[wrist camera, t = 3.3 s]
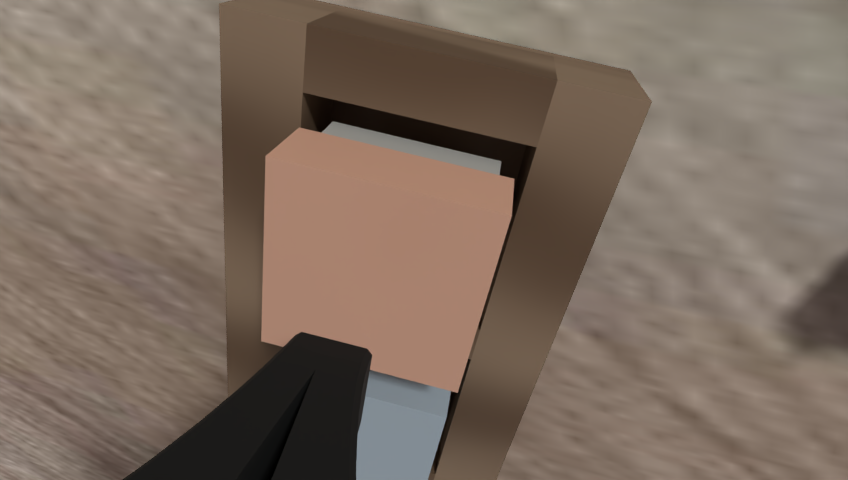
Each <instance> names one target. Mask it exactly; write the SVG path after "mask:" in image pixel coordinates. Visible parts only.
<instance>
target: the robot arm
mask: <svg viewBox="0 0 848 480" xmlns="http://www.w3.org/2000/svg"><path fill="white" fill-rule="evenodd" d="M371 360H372V354H371V353H370V352H369V350H368V349H367V348H363V347H359V346H355V345H351V344H347V343H343V342H340V341H336V340H332V339H328V338H324V337H320V336H316V335H312V334H308V333H305V332H300V333H298V334H296V335H295V336H294V337H293V338H292V339H291V340H290V341H289V342H288V343H287V344H286V345H285V346H284V347H283V348H282V349H281V350H280V351H279V352H278V353H277V354H276V355H275V356H274V357H273V358H272V359H271V360H269V361H268V362H267V363H266V364H265V365H264V366H263V367H262V368H261V369H260V370H259V371H258V372H257V373H255V374H254V375H253V376H252V377H251V378H250V379H249V380H248V381H247V382H246V383H244V384H243V385H242V386H241V387H240V388H239V389H238V390H236V391H235V392H234V393H233V394H232V395H231V396H229V397H228V398H227V399H226V400H225V401H224V402H222V403H221V404H220V405H219V406H218V407H217V408H215V409H214V410H213V411H212V412H211V413H210V414H208V415H207V416H206V417H205V418H203V419H202V420H201V421H200V422H199V423H197V424H196V425H195V426H193V427H192V428H191V429H190V430H188V431H187V432H186V433H184V434H183V435H182V436H181V437H179V438H178V439H177V440H175V441H174V442H173V443H172V444H170V445H169V446H168V447H166V448H165V449H164V450H163V451H161V452H160V453H159V454H157V455H156V456H155V457H153V458H152V459H151V460H149V461H148V462H147V463H145V464H144V465H142V466H141V467H140V468H138V469H137V470H136V471H134V472H133V473H131V474H130V475H129V476H127V477H126V478H124V479H123V480H356V460H357V435H358V431H359V427H360V424H361V419H362V413H363V407H364V401H365V395H366V389H367V383H368V378H369V372H370V366H371Z"/></svg>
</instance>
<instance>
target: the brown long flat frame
mask: <svg viewBox="0 0 848 480" xmlns="http://www.w3.org/2000/svg"><path fill="white" fill-rule="evenodd" d="M219 17H220V61H221V106H222V150H223V195H224V239H225V284H226V328H227V373H228V397H229V396H231V395H232V394H233V393H234V392H235V391H236V390H238V389H239V388H240V387H241V386H242V385H243V384H244V383H246V382H247V381H248V380H249V379H250V378H251V377H252V376H253V375H254V374H255V373H257V372H258V371H259V370H260V369H261V368H262V367H263V366H264V365H265V364H266V363H267V362H268V361H269V360H271V359H272V358H273V357H274V356H275V355H276V354H277V353H278V352H279V351H280V350H281V349H282V348H283V347H281V346H278V345H274V344H270V343H266V342H262V341H261V329H262V286H263V243H264V200H265V157H266V155H267V154H269V153H270V152H271V151H272V150H273V149H274V148H276V147H277V146H278V145H279V144H280V143H281V142H283V141H284V140H285V139H286V138H287V137H288V136H290V135H291V134H292V133H293V132H294V131H296V130H297V129H298V128H299V127H300V128H304V129H308V130H312V131H316V132H323V131H324V130H325V129H326V128H327V127H328V126H329V125H330V124H331V123H332V122H333V121H334V122H338V123H342V124H346V125H351V126H355V127H359V128H363V129H367V130H372V131H376V132H380V133H384V134H389V135H393V136H397V137H401V138H405V139H410V140H414V141H418V142H422V143H426V144H431V145H435V146H439V147H443V148H448V149H452V150H456V151H460V152H464V153H469V154H473V155H477V156H481V157H485V158H490V159H494V160H498V161H501V168H500V175H501V176H505V177H509V178H513V179H514V192H513V206H512V217H511V220H510V223H509V227H508V230H507V233H506V236H505V240H504V243H503V246H502V250H501V253H500V256H499V259H498V263H497V266H496V269H495V272H494V276H493V279H492V282H491V286H490V289H489V292H488V295H487V299H486V302H485V305H484V308H483V312H482V315H481V318H480V322H479V325H478V328H477V331H476V335H475V338H474V341H473V344H472V348H471V351H470V354H469V357H468V361H467V364H466V367H465V371H464V374H463V377H462V380H461V384H460V387H459V390H458V393H456V392H452V391H451V395H450V400H449V406H448V412H447V418H446V421H445V424H444V428H443V431H442V434H441V438H440V441H439V444H438V448H437V451H436V454H435V458H434V461H433V464H432V468H431V471H430V474H429V478H428V480H496V479H497V477H498V474H499V472H500V469H501V467H502V464H503V462H504V460H505V457H506V455H507V452H508V450H509V447H510V445H511V443H512V440H513V438H514V435H515V433H516V430H517V428H518V426H519V423H520V421H521V418H522V416H523V413H524V411H525V409H526V406H527V404H528V401H529V399H530V396H531V394H532V392H533V389H534V387H535V384H536V382H537V379H538V377H539V375H540V372H541V370H542V367H543V365H544V362H545V360H546V358H547V355H548V353H549V350H550V348H551V345H552V343H553V341H554V338H555V336H556V333H557V331H558V329H559V326H560V324H561V321H562V319H563V316H564V314H565V312H566V309H567V307H568V304H569V302H570V299H571V297H572V295H573V292H574V290H575V287H576V285H577V282H578V280H579V278H580V275H581V273H582V270H583V268H584V265H585V263H586V261H587V258H588V256H589V253H590V251H591V248H592V246H593V244H594V241H595V239H596V236H597V234H598V231H599V229H600V227H601V224H602V222H603V219H604V217H605V214H606V212H607V210H608V207H609V205H610V202H611V200H612V197H613V195H614V193H615V190H616V188H617V185H618V183H619V180H620V178H621V176H622V173H623V171H624V168H625V166H626V163H627V161H628V159H629V156H630V154H631V151H632V149H633V146H634V144H635V142H636V139H637V137H638V134H639V132H640V130H641V127H642V125H643V122H644V120H645V117H646V115H647V113H648V110H649V108H650V105H651V103H652V101H651V100H650V99H649V97H648V96H647V94H646V93H645V91H644V90H643V88H642V87H641V86H640V84H639V83H638V81H637V80H636V78H635V77H634V75H633V74H632V73H631V71H628V70H624V69H620V68H615V67H611V66H606V65H602V64H597V63H593V62H588V61H584V60H579V59H575V58H570V57H566V56H562V55H557V54H553V53H548V52H544V51H539V50H535V49H530V48H526V47H521V46H517V45H513V44H508V43H504V42H499V41H495V40H490V39H486V38H481V37H477V36H472V35H468V34H464V33H459V32H455V31H450V30H446V29H441V28H437V27H432V26H428V25H423V24H419V23H415V22H410V21H406V20H401V19H397V18H392V17H388V16H383V15H379V14H374V13H370V12H365V11H361V10H357V9H352V8H348V7H343V6H339V5H334V4H330V3H325V2H321V1H316V0H232V1H228V2H224V3H220V4H219Z"/></svg>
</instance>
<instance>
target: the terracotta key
mask: <svg viewBox="0 0 848 480" xmlns="http://www.w3.org/2000/svg"><path fill="white" fill-rule="evenodd" d="M500 168H501V161H498V160H494V159H490V158H485V157H481V156H477V155H473V154H469V153H464V152H460V151H456V150H452V149H448V148H443V147H439V146H435V145H431V144H426V143H422V142H418V141H414V140H410V139H405V138H401V137H397V136H393V135H389V134H384V133H380V132H376V131H372V130H367V129H363V128H359V127H355V126H351V125H346V124H342V123H338V122H334V121H333V122H332V123H331V124H330V125H329V126H328V127H327V128H326V129H325V130H324V131H323V132H316V131H312V130H308V129H304V128H300V127H299V128H298V129H297V130H296V131H294V132H293V133H292V134H291V135H290V136H288V137H287V138H286V139H285V140H284V141H283V142H281V143H280V144H279V145H278V146H277V147H276V148H274V149H273V150H272V151H271V152H270V153H269V154H267V155H266V157H265V200H264V243H263V286H262V329H261V341H262V342H266V343H270V344H274V345H278V346H281V347H284V346H285V345H286V344H287V343H288V342H289V341H290V340H291V339H292V338H293V337H294V336H295V335H296V334H298V333H300V332H305V333H308V334H312V335H316V336H320V337H324V338H328V339H332V340H336V341H340V342H343V343H347V344H351V345H355V346H359V347H363V348H367V349H368V350H369V352H370V353H371V354H372V360H371V366H370V370H373V371H376V372H380V373H384V374H388V375H392V376H395V377H399V378H403V379H407V380H410V381H414V382H418V383H422V384H426V385H429V386H433V387H437V388H441V389H445V390H448V391H452V392H456V393H458V390H459V387H460V384H461V380H462V377H463V374H464V371H465V367H466V364H467V361H468V357H469V354H470V351H471V348H472V344H473V341H474V338H475V335H476V331H477V328H478V325H479V322H480V318H481V315H482V312H483V308H484V305H485V302H486V299H487V295H488V292H489V289H490V286H491V282H492V279H493V276H494V272H495V269H496V266H497V263H498V259H499V256H500V253H501V250H502V246H503V243H504V240H505V236H506V233H507V230H508V227H509V223H510V220H511V217H512V206H513V192H514V179H513V178H509V177H505V176H501V175H500Z"/></svg>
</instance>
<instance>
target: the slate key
mask: <svg viewBox="0 0 848 480" xmlns="http://www.w3.org/2000/svg"><path fill="white" fill-rule="evenodd" d="M450 395H451V391H448V390H445V389H441V388H437V387H433V386H429V385H426V384H422V383H418V382H414V381H410V380H407V379H403V378H399V377H395V376H392V375H388V374H384V373H380V372H376V371H373V370H370V372H369V378H368V383H367V389H366V395H365V401H364V407H363V413H362V419H361V424H360V427H359V431H358V435H357V460H356V480H428V478H429V474H430V471H431V468H432V464H433V461H434V458H435V454H436V451H437V448H438V444H439V441H440V438H441V434H442V431H443V428H444V424H445V421H446V418H447V412H448V406H449V400H450Z"/></svg>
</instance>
